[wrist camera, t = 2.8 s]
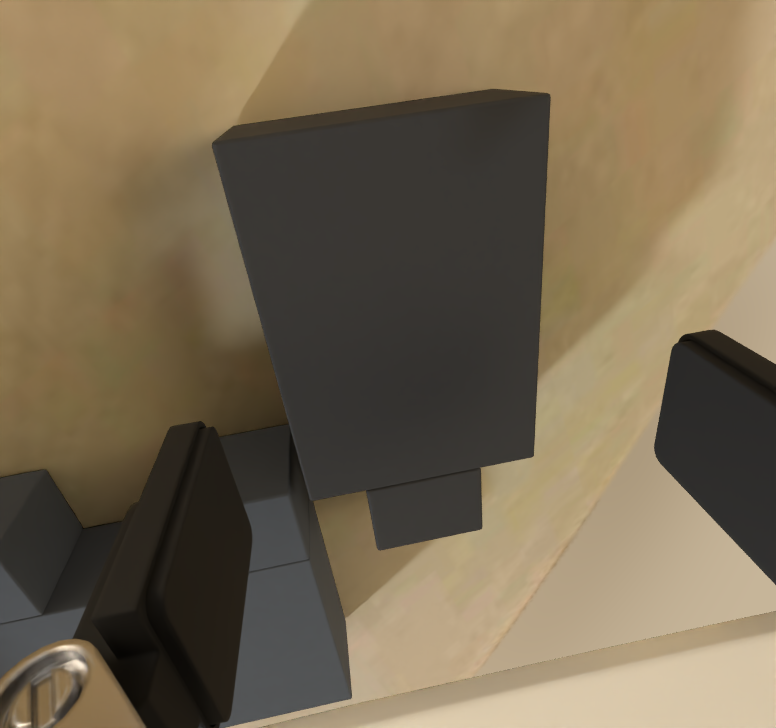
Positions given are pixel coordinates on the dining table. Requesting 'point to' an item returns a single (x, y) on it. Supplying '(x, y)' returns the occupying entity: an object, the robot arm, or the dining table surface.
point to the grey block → (264, 588)
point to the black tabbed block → (399, 293)
